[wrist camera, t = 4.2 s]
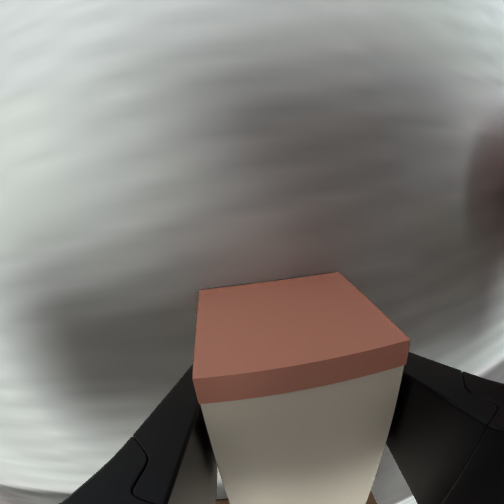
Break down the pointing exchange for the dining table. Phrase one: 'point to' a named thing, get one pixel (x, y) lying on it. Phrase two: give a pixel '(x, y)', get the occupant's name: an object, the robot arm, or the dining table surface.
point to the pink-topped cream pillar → (296, 388)
